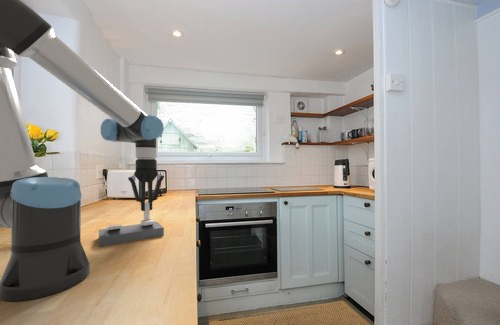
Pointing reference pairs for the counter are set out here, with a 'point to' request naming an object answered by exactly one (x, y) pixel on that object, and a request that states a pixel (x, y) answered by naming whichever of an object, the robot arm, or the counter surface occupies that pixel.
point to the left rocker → (114, 226)
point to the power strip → (129, 233)
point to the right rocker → (147, 222)
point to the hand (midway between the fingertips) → (146, 218)
